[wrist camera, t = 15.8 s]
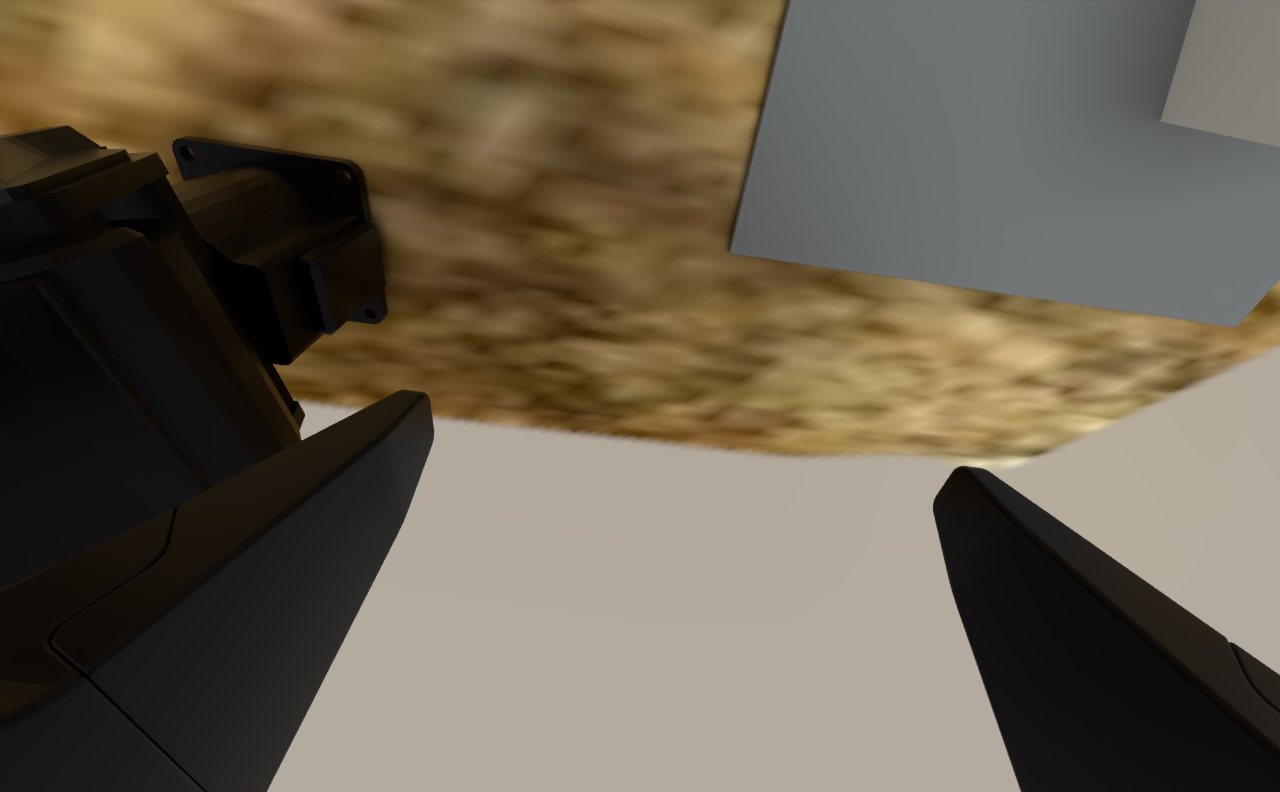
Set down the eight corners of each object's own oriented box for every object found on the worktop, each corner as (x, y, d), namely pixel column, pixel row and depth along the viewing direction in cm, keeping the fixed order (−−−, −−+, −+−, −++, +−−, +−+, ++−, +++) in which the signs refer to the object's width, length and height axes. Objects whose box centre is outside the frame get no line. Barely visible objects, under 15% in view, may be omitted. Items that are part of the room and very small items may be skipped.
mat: (729, 248, 20) (730, 253, 20) (870, -349, 12) (877, -362, 11) (1224, 321, 21) (1235, 327, 20) (1688, -197, 12) (1723, -205, 12)
